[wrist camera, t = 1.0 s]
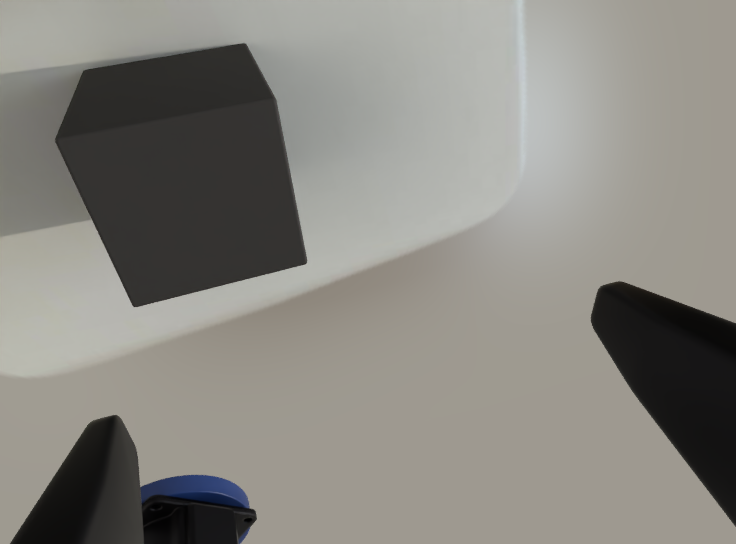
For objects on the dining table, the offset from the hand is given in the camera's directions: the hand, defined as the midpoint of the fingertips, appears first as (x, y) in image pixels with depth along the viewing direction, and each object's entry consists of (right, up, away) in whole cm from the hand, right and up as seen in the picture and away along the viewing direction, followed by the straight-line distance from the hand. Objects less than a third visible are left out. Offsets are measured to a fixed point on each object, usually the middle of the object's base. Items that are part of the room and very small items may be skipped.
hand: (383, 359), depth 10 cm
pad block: (-6, +6, +8) cm, 12 cm away
